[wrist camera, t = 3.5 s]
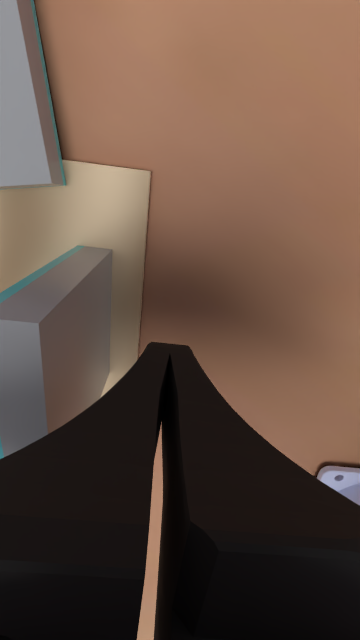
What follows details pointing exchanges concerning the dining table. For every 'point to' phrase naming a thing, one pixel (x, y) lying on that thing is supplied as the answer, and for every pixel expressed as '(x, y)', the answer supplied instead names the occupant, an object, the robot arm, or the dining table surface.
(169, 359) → the robot arm
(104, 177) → the beige square board
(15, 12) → the tile
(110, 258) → the tile
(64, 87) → the dining table surface
